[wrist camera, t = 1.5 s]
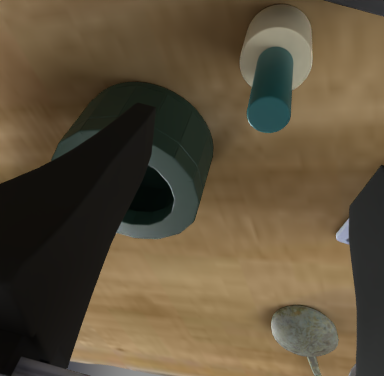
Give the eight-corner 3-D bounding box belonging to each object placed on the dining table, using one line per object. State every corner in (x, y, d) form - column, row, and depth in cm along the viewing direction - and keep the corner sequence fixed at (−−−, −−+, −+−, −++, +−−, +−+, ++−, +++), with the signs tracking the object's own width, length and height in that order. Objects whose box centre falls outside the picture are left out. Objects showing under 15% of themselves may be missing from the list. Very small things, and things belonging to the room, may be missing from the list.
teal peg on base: (322, 13, 17) (329, 90, 12) (296, 74, 19) (293, 159, 14) (257, -5, 17) (237, 65, 12) (239, 58, 19) (217, 137, 14)
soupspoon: (335, 299, 35) (267, 295, 37) (334, 333, 32) (263, 325, 35) (349, 390, 48) (299, 382, 51) (350, 418, 45) (297, 408, 48)
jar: (227, 104, 21) (212, 158, 18) (199, 200, 28) (184, 252, 24) (83, 64, 22) (42, 109, 18) (89, 168, 28) (59, 216, 25)
